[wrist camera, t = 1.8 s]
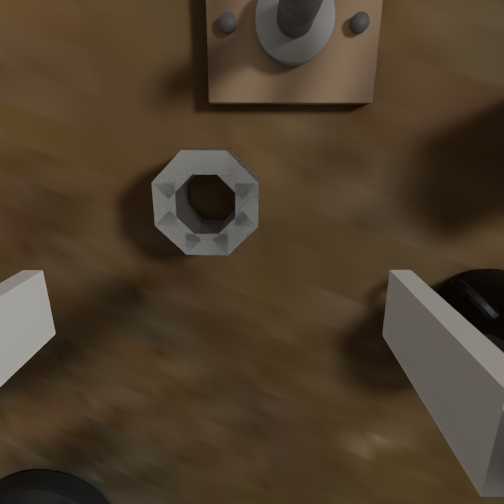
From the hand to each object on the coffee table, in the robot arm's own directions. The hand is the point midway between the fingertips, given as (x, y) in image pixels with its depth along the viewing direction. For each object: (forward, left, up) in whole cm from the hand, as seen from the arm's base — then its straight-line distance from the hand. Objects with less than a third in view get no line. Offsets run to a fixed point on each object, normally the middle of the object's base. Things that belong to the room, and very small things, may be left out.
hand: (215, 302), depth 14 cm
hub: (-2, +1, -17) cm, 18 cm away
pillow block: (+4, +13, -17) cm, 22 cm away
